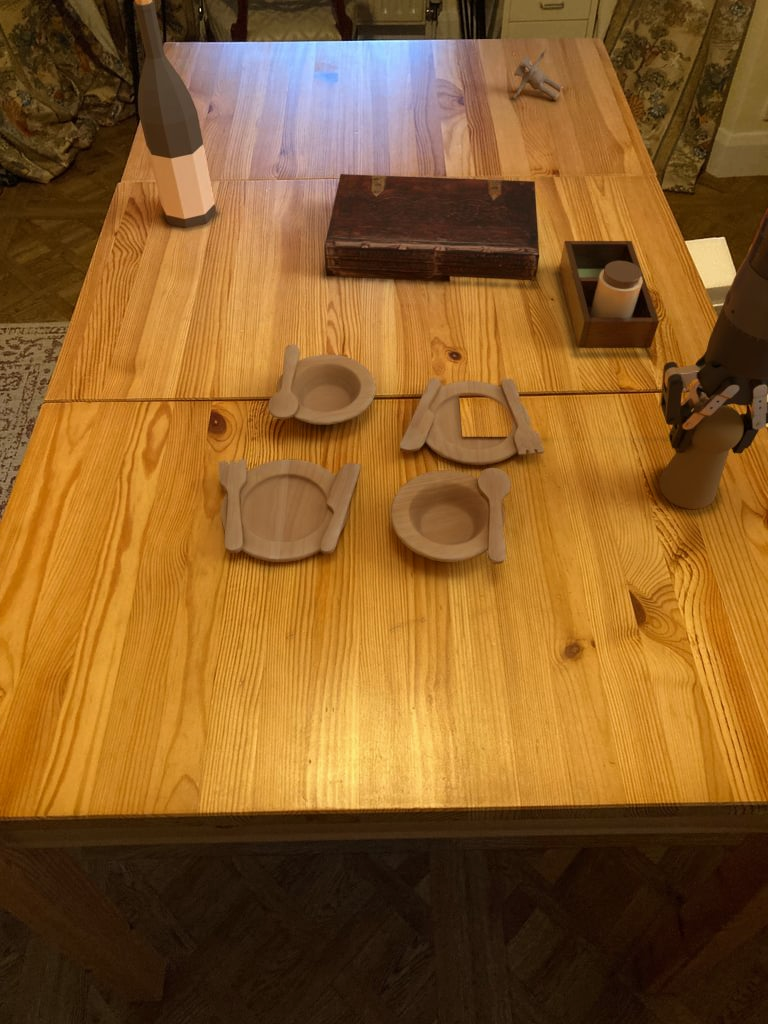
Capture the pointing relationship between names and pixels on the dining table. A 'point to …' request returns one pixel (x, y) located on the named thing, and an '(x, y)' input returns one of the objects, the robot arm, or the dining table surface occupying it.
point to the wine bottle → (171, 131)
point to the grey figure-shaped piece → (535, 77)
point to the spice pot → (617, 291)
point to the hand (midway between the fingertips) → (706, 446)
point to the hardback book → (432, 228)
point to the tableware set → (325, 497)
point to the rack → (580, 285)
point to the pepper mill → (702, 460)
